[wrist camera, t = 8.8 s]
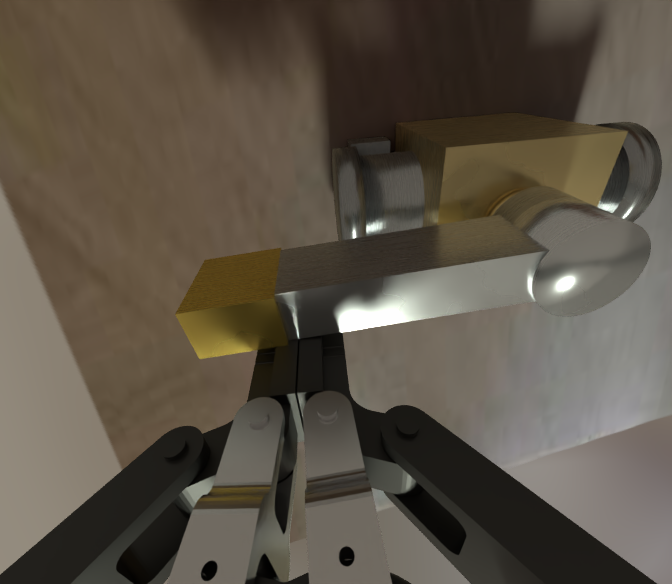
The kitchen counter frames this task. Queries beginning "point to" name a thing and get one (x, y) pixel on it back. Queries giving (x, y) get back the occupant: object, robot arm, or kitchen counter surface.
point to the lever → (418, 275)
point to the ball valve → (488, 170)
